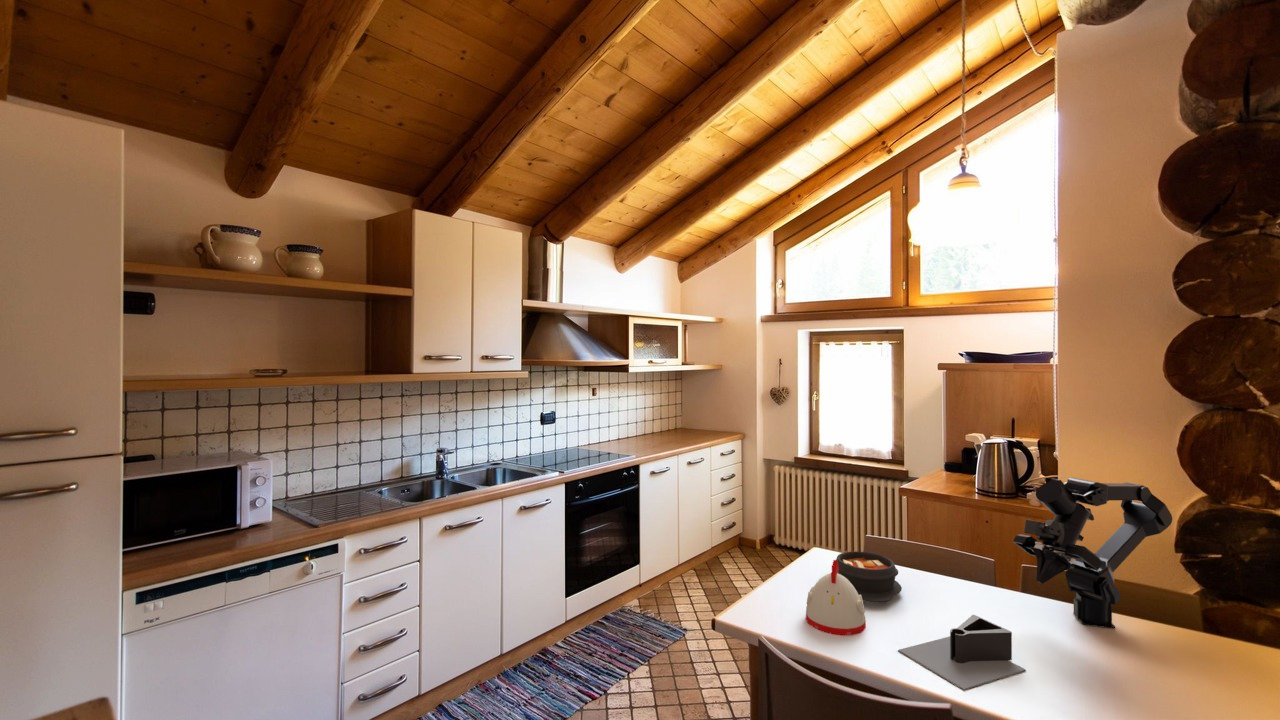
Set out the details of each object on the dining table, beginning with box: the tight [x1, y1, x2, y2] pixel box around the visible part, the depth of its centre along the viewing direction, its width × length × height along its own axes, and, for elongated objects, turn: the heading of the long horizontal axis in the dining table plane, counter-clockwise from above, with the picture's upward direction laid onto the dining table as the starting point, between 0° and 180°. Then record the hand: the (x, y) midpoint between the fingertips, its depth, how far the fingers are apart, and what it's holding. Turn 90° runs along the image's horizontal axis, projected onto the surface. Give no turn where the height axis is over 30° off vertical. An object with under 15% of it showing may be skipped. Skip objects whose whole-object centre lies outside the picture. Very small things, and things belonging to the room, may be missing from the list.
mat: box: [897, 635, 1027, 691], centre depth 121 cm, size 18×16×1 cm
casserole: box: [835, 550, 902, 603], centre depth 158 cm, size 25×19×8 cm
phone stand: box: [949, 614, 1013, 663], centre depth 122 cm, size 9×6×12 cm
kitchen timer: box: [805, 559, 867, 636], centre depth 139 cm, size 14×14×15 cm
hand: (1039, 582), depth 132 cm, fingers closed
